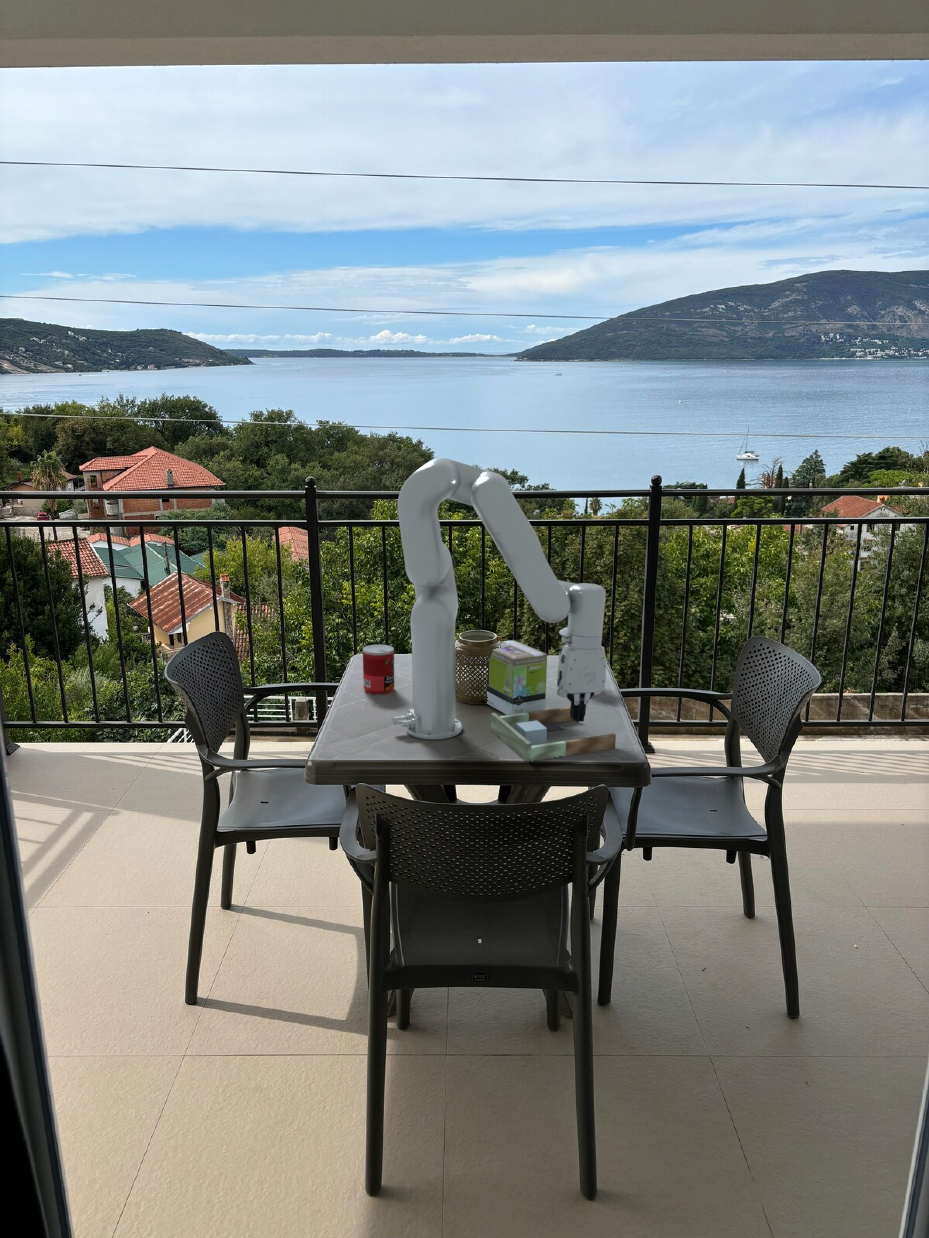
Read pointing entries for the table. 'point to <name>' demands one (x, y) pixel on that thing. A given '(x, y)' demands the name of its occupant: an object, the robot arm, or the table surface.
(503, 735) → the trap lane
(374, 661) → the canned food
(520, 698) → the tea box
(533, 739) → the block
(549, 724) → the plate
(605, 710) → the table surface
